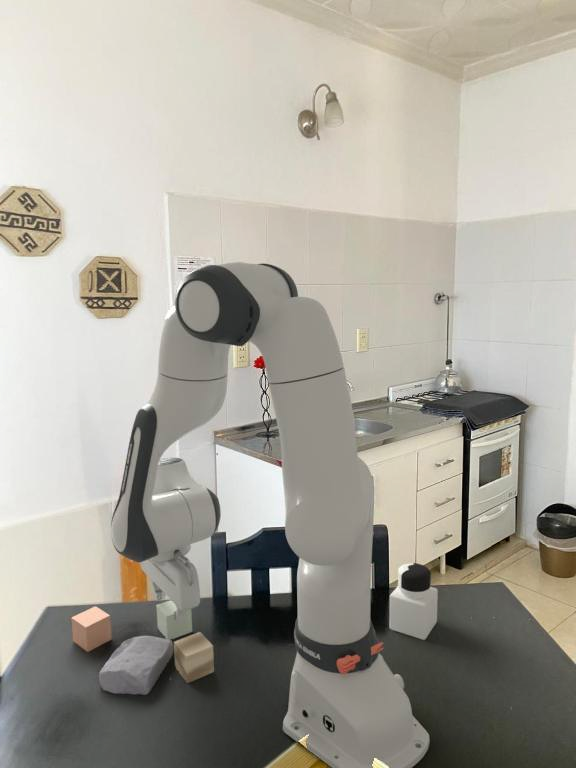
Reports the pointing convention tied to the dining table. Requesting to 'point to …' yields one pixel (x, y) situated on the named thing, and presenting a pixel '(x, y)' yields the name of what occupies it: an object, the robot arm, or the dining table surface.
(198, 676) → the birch cube
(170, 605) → the sage cube
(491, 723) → the dining table surface
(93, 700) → the dining table surface
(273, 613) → the dining table surface
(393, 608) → the medicine bottle
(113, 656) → the stone block
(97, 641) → the terracotta cube
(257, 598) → the dining table surface
